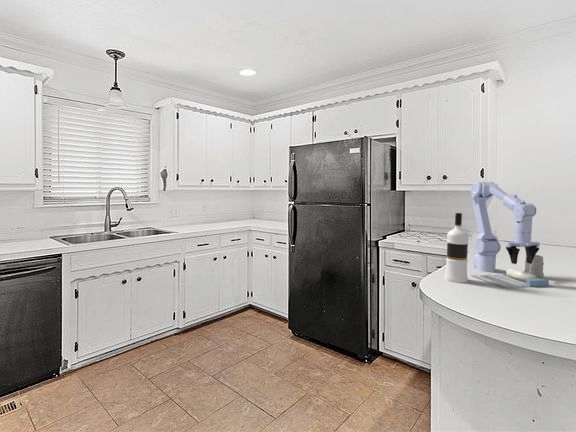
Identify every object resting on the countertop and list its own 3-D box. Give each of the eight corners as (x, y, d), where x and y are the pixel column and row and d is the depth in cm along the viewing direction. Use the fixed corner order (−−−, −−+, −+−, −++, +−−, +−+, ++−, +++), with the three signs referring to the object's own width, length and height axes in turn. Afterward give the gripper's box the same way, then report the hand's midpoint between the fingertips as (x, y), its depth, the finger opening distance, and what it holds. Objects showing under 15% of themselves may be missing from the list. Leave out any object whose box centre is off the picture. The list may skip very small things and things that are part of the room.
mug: (544, 276, 160) (546, 251, 159) (541, 281, 151) (543, 254, 150) (524, 274, 165) (526, 249, 164) (521, 278, 156) (522, 252, 155)
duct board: (470, 277, 157) (470, 270, 157) (513, 276, 160) (514, 269, 160) (503, 290, 138) (503, 281, 137) (552, 288, 141) (552, 280, 140)
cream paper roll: (505, 276, 155) (506, 268, 155) (513, 276, 156) (514, 268, 156) (527, 284, 143) (528, 274, 143) (536, 284, 144) (537, 274, 144)
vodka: (439, 280, 153) (441, 212, 151) (455, 278, 156) (458, 212, 154) (456, 285, 144) (459, 213, 142) (472, 283, 147) (476, 213, 145)
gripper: (515, 233, 143) (513, 265, 144) (546, 233, 145) (544, 265, 146) (502, 231, 150) (500, 262, 151) (532, 231, 152) (530, 261, 153)
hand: (521, 263), depth 149 cm, fingers open, 7 cm apart
